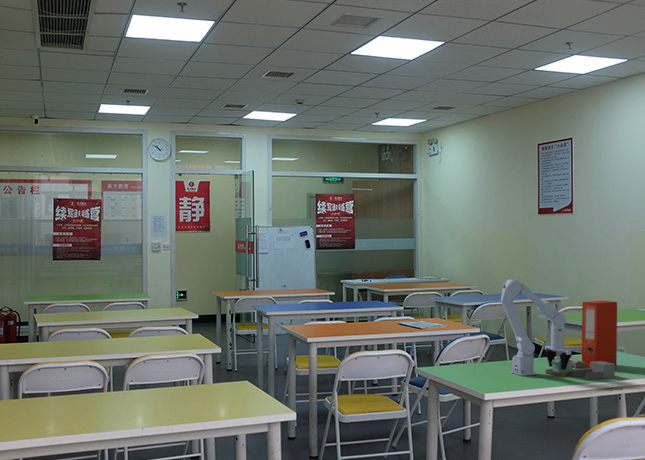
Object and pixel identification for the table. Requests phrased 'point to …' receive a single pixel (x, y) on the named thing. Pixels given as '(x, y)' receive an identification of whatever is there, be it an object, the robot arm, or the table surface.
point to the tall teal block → (557, 366)
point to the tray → (559, 373)
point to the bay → (596, 371)
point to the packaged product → (577, 364)
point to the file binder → (599, 332)
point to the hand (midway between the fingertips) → (557, 367)
